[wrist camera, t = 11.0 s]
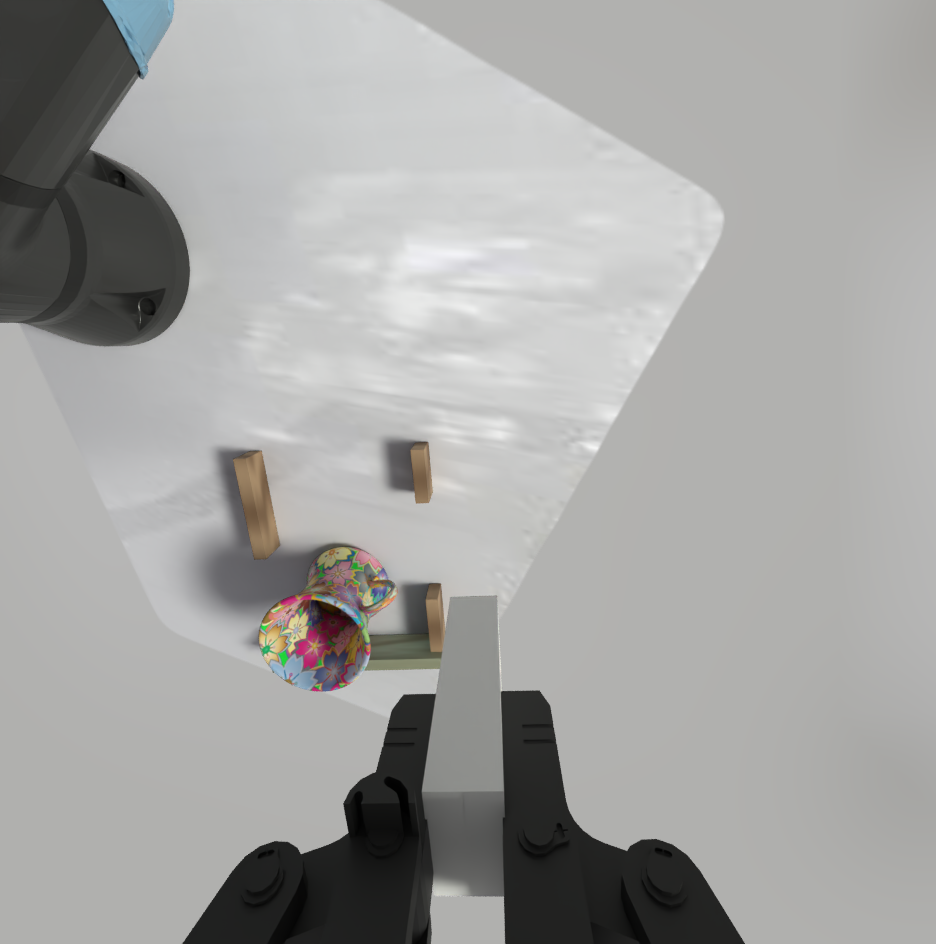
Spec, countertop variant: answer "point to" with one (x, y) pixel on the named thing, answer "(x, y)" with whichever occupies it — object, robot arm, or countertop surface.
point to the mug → (327, 621)
